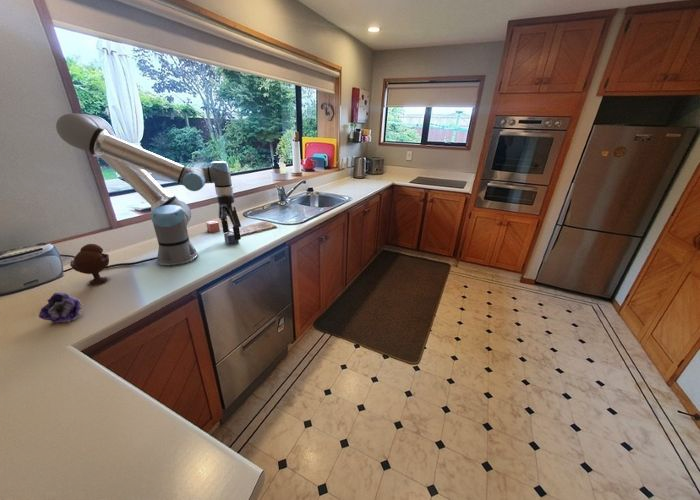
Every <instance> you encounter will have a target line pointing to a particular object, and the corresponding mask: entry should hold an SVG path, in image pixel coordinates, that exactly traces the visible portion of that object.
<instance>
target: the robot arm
mask: <svg viewBox="0 0 700 500" xmlns="http://www.w3.org/2000/svg"><path fill="white" fill-rule="evenodd" d="M55 129H56V133H57V134H58V136H59V137H60V138H61V139H62V140H63V141H64V142H65V143H66V144H68V145H69V146H72V147H73V148H77V149H79V150H82V151H85V152H88V153H89V154H91V155H92V156H93V157H96V158H100V159H102V160H103V161H104V162H105V163H106V164H107V165H108V166H109V167H110V168H111V169H112V170H113V171H114V172H116V174H117V175H118V176H120V177H121V178H122V179H123V181H125V183H127V184H128V185H129V186H130V187H131V188H132V189H133V190H134V191H135V192H136V193H137V194H138V195H139V196H140V197H142V198H143V200H145V201H146V202H147V203H148V204H149V205H150V211H151V212H150V217H151V218H150V219H151V222H152V226H153V229H154V233H155V236H156V240H157V244H158V251H157V256H156V257H151V258H147V259H142V260H139V261H133V262H120V263H114V264H113V263H112V264H110V265H109V264H108V265H107V267H106V268H104V269H103V270H106V269H109V268H114V267H119V266H134V265H139V264H142V263H146V262H151V261H155V260H157V263H158V265H160V266H162V267H178V266H184V265H187V264H189V263H191V262H194V261H195V260H196V259H197V258H198V252H197V250H196V249H195V247H194V246H193V244H192V242H191V241H190V237H189V232H188V228H187V227H188V224H189V222H190V220H191V217H192V212H191V208H190V207H189V205H188V204H187V203H186V202H184V201H182V200H179V198H178V197H177V196H176V195H175V194H173V193H168V192H167V191H166V190H165V189H164V187H162V186H161V185H160V184H159V183H158V182H157V181H156V180H155V179H154V178H153V177H152V176H151V175H150V174H153V175H155V176H158V177H161V178H164V179H166V180H168V181H171V182H174V183H176V184H179V185H181V186H183V187H185V188H186V189H187V190H188V191H191V192H198V191H200V190H202V189H203V187H205V185H206V184H214V189H215V195H216V200H217V204H218V219H219V220H220V221H221V227H222V233H223V234H225V233H229V229H230V228H229V224H228V218H229V221H230V222H231V224H232V229H233V231H234V238H235V240H238V241H239V240H241V239H242V238H241V237H242V236H240V231H239V227H242V224H241V222H240V219H239V216H238V213H237V208H236V206H233V204H234V203H235V196H234V186H233V183H232V176H231V171H230V165H229V163H228V162H227V161H225V160H224V161H223V160H216V161H211V162H210V166H184V165H182V164H180V163H178V162H175V161H174V160H171V159H169V158H165V157H163V156H162V155H159V154H156V153H154V152H151V151H149V150H146V149H144V148H143V147H142V148H141V147H140V146H137V145H135V144H133V143H130V142H128V141H125V140H123V139H120V138H119V137H118V136H117V134H115V132H114V128H113V127H112V125H111V124H110V123H109V122H108V121H106V119H104V118H102V117H100V116H98V115H96V114H93V113H75V112H73V113H72V112H71V113H65V114H63V115H61V116H60V117H59V118H58V119H57V120H56V122H55ZM149 173H150V174H149Z"/></svg>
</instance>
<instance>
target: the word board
mask: <svg viewBox="0 0 700 500" xmlns="http://www.w3.org/2000/svg"><path fill="white" fill-rule="evenodd" d="M276 228H277V225H275V224H273V223H271V222H269V221H266V220H265V221H261V222H256V223H251V224H247V225H241V227H239V231H240V237H243V236H244V237H245V236H247V235H251V234H256V233H259V232H265V231H269V230H272V229H276ZM229 232H234V231H233V228H229ZM229 232H228V233H229Z"/></svg>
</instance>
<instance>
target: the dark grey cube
mask: <svg viewBox="0 0 700 500" xmlns="http://www.w3.org/2000/svg"><path fill="white" fill-rule="evenodd" d="M223 237H224V242H225V244H226V245H228V246H232V245H233V246H234V245H236V244H239V243H240V242H239V240H235V238H234V232H227V233H223Z"/></svg>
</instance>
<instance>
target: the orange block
mask: <svg viewBox="0 0 700 500" xmlns="http://www.w3.org/2000/svg"><path fill="white" fill-rule="evenodd" d="M205 224H206V229H207V231H208V232H209V233H210V234H212V233H216V232H220V229H221V228H220V223H219V222H218V221H217V220H210V221H206V222H205Z"/></svg>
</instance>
